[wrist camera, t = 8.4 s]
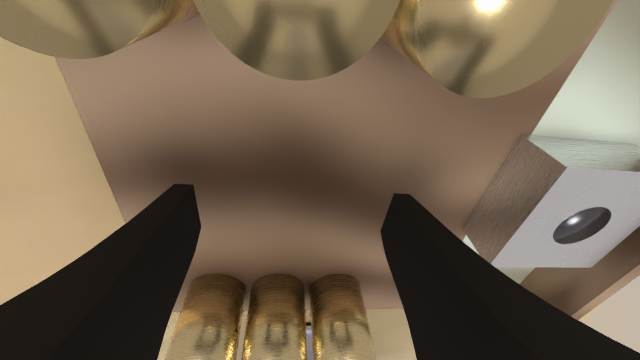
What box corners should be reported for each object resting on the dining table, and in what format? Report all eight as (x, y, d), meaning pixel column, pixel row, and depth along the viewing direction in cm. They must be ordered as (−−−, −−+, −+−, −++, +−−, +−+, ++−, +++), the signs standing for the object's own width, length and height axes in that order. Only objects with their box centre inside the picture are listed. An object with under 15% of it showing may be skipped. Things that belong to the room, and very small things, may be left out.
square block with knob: (553, 231, 15) (591, 267, 13) (462, 228, 15) (487, 267, 13) (634, 143, 12) (698, 175, 10) (520, 134, 11) (567, 167, 9)
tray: (502, 298, 21) (535, 350, 18) (166, 303, 18) (142, 367, 15) (814, -28, 9) (1055, -28, 6) (-34, -203, 6) (-357, -377, 3)
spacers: (354, 302, 18) (369, 382, 15) (193, 304, 17) (166, 393, 13) (494, -79, 7) (696, -130, 4) (57, -165, 6) (-326, -387, 2)
